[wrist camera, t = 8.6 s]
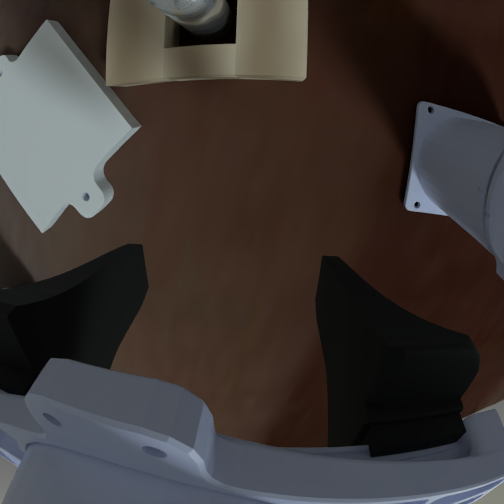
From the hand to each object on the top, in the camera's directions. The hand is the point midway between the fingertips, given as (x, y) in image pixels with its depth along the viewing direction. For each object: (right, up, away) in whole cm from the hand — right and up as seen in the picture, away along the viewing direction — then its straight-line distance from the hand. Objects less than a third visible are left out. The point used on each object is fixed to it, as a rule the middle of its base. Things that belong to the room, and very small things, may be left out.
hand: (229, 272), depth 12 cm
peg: (-2, +16, +4) cm, 16 cm away
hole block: (-2, +16, +4) cm, 16 cm away
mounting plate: (-16, +11, +8) cm, 21 cm away
